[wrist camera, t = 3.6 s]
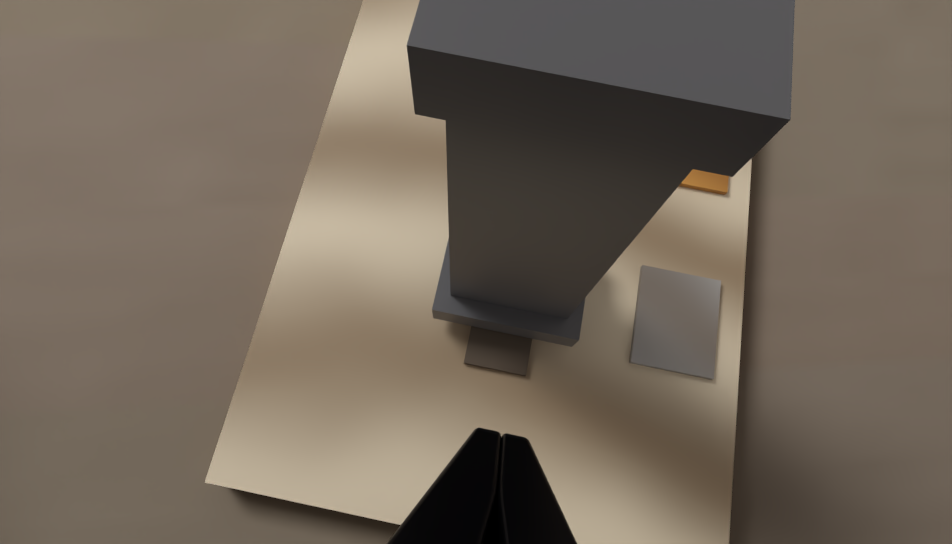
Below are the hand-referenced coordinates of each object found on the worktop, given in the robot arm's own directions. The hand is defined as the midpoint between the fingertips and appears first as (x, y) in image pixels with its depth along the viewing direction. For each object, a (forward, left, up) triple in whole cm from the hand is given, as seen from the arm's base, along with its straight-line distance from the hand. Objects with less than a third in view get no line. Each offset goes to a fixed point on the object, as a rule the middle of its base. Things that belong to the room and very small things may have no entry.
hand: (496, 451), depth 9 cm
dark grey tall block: (+3, -4, -6) cm, 8 cm away
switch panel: (+4, -6, -8) cm, 11 cm away
